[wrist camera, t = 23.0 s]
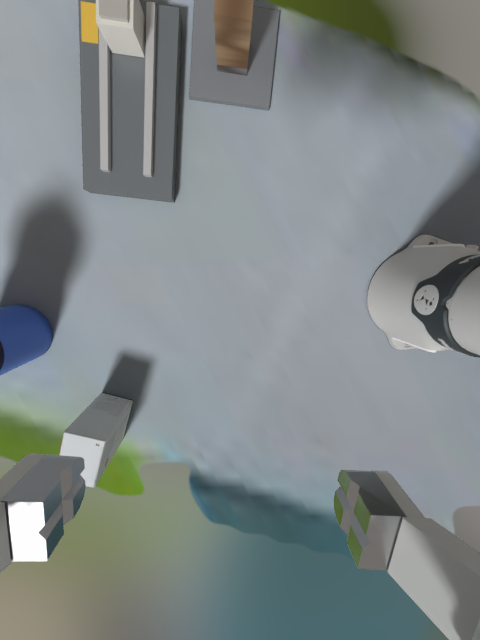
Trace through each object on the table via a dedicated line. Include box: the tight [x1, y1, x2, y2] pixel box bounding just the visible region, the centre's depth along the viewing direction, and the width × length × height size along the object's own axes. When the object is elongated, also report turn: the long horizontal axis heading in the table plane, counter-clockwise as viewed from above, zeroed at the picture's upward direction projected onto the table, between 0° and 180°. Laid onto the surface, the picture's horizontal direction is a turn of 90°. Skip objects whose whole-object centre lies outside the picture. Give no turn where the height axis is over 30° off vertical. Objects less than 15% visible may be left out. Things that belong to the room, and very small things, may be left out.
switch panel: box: [79, 0, 182, 202], centre depth 34 cm, size 12×22×3 cm, turn 174°
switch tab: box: [96, 0, 146, 58], centre depth 29 cm, size 4×4×4 cm
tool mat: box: [189, 0, 280, 110], centre depth 34 cm, size 11×11×1 cm
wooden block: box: [214, 0, 254, 76], centre depth 30 cm, size 4×4×8 cm
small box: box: [60, 393, 133, 487], centre depth 40 cm, size 8×6×10 cm
